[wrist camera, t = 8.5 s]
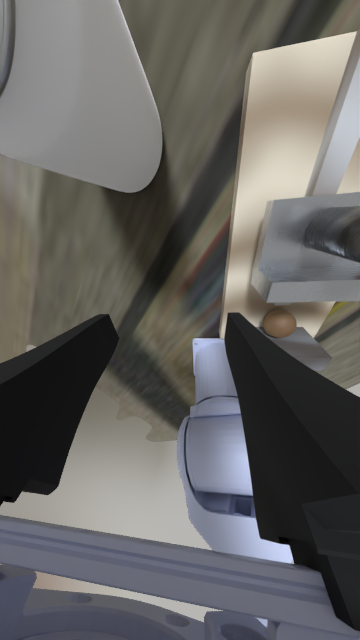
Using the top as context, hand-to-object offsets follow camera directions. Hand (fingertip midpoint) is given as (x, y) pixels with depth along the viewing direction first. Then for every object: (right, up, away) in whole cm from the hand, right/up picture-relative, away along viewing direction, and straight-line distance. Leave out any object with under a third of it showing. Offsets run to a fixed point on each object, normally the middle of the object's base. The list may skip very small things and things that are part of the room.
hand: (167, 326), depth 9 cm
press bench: (+12, +8, +6) cm, 15 cm away
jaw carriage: (+11, +7, +3) cm, 14 cm away
